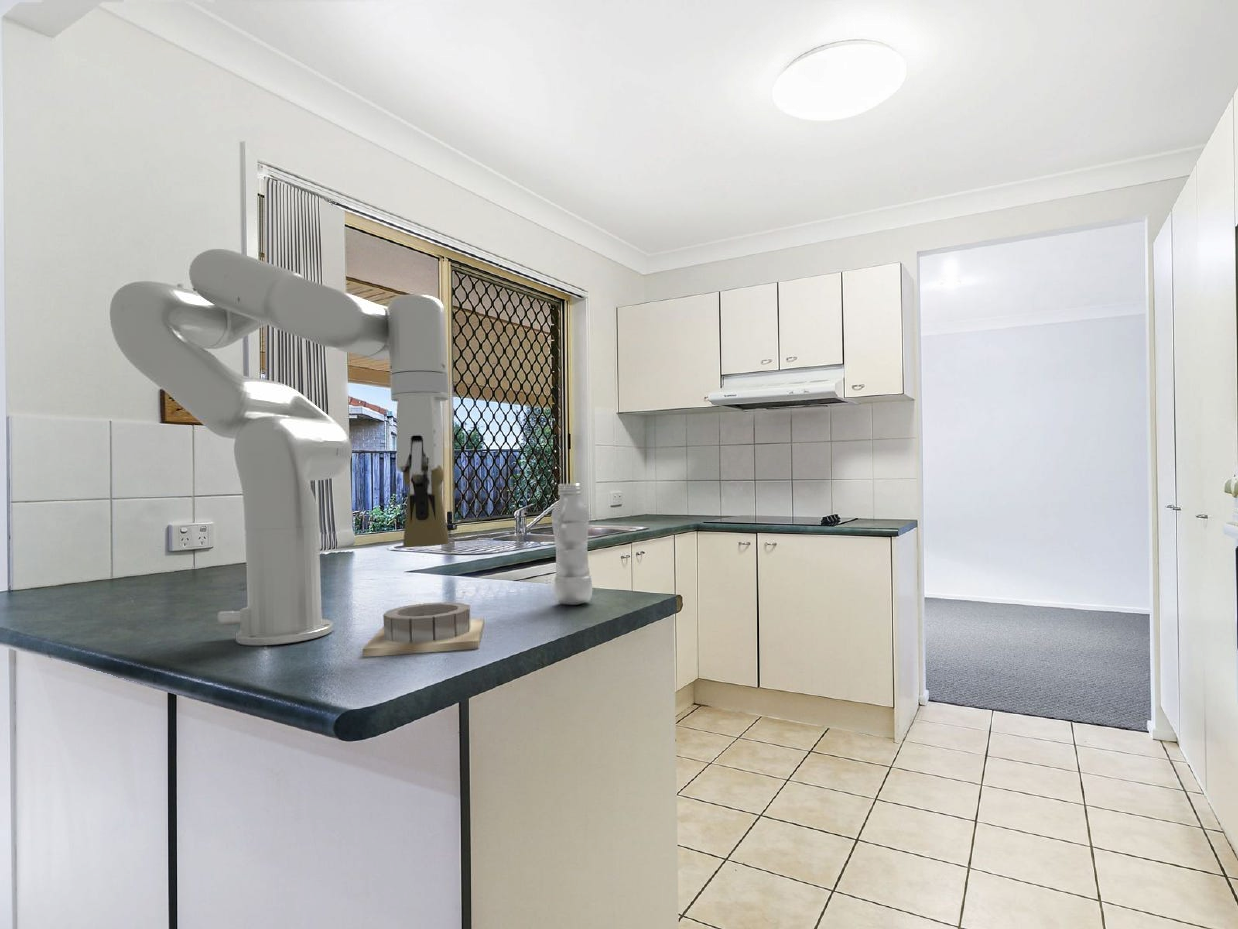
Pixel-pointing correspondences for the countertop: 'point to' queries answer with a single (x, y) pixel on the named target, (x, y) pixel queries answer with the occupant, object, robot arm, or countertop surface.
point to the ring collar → (426, 630)
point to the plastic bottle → (571, 547)
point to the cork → (429, 529)
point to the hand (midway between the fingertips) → (425, 523)
